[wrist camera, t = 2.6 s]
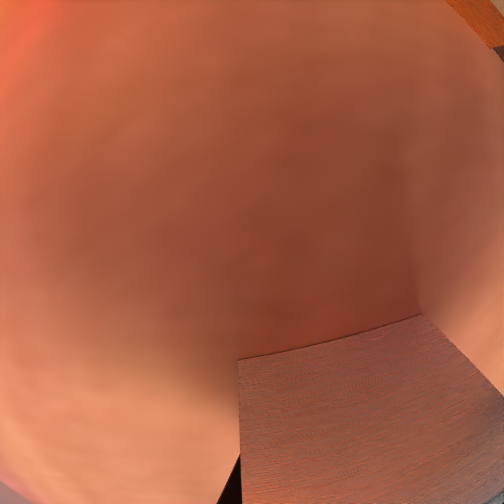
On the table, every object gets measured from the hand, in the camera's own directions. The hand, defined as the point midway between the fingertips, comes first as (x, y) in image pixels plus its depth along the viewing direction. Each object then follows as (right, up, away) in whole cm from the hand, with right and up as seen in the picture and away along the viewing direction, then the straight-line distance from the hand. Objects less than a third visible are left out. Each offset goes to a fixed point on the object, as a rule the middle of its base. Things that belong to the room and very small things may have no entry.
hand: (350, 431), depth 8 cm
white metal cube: (0, 0, +1) cm, 1 cm away
